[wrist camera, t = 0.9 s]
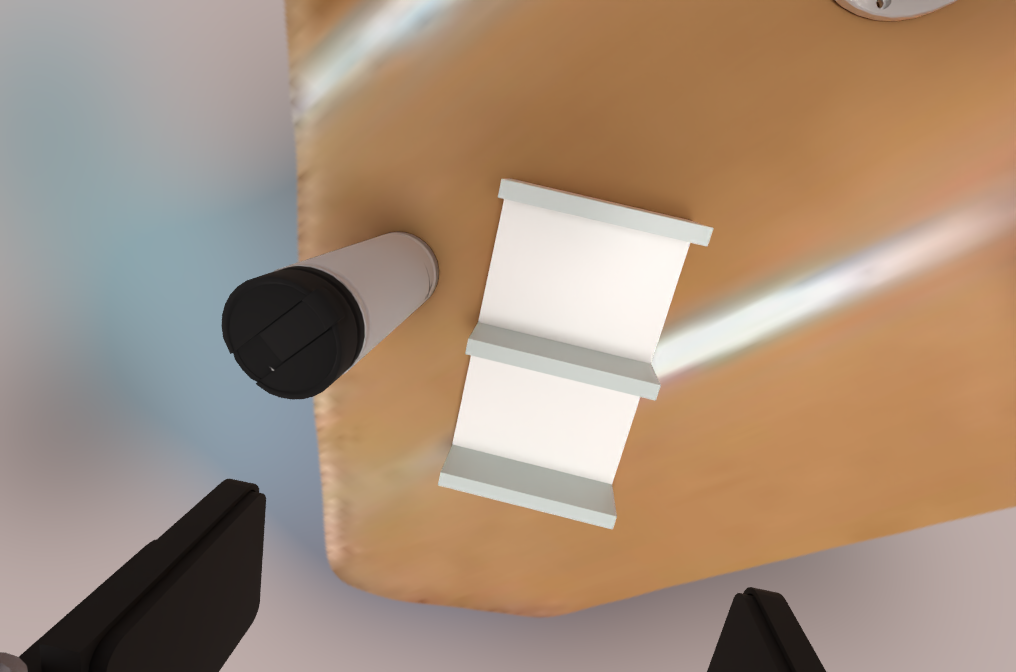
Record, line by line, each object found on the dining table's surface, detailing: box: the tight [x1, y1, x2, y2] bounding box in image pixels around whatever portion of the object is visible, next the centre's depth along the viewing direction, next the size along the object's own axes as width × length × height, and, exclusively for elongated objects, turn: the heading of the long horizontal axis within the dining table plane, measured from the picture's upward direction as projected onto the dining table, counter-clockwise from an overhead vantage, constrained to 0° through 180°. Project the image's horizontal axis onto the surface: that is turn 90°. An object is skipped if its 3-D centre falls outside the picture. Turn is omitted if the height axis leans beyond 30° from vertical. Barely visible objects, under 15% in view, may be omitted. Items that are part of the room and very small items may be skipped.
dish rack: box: [438, 178, 713, 529], centre depth 41 cm, size 24×14×6 cm, turn 167°
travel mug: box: [222, 232, 439, 399], centre depth 34 cm, size 6×7×20 cm
